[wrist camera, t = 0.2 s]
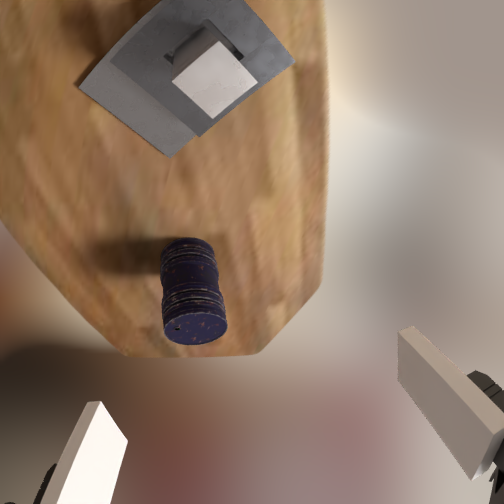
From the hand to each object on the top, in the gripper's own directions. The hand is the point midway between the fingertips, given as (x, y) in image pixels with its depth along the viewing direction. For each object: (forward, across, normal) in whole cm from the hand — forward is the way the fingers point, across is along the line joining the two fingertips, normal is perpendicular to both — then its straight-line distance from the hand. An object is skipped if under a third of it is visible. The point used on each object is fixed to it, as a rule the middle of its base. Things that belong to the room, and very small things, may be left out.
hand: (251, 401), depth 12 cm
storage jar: (+44, -9, -4) cm, 45 cm away
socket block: (+27, -1, +23) cm, 35 cm away
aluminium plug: (+25, +2, +24) cm, 35 cm away
